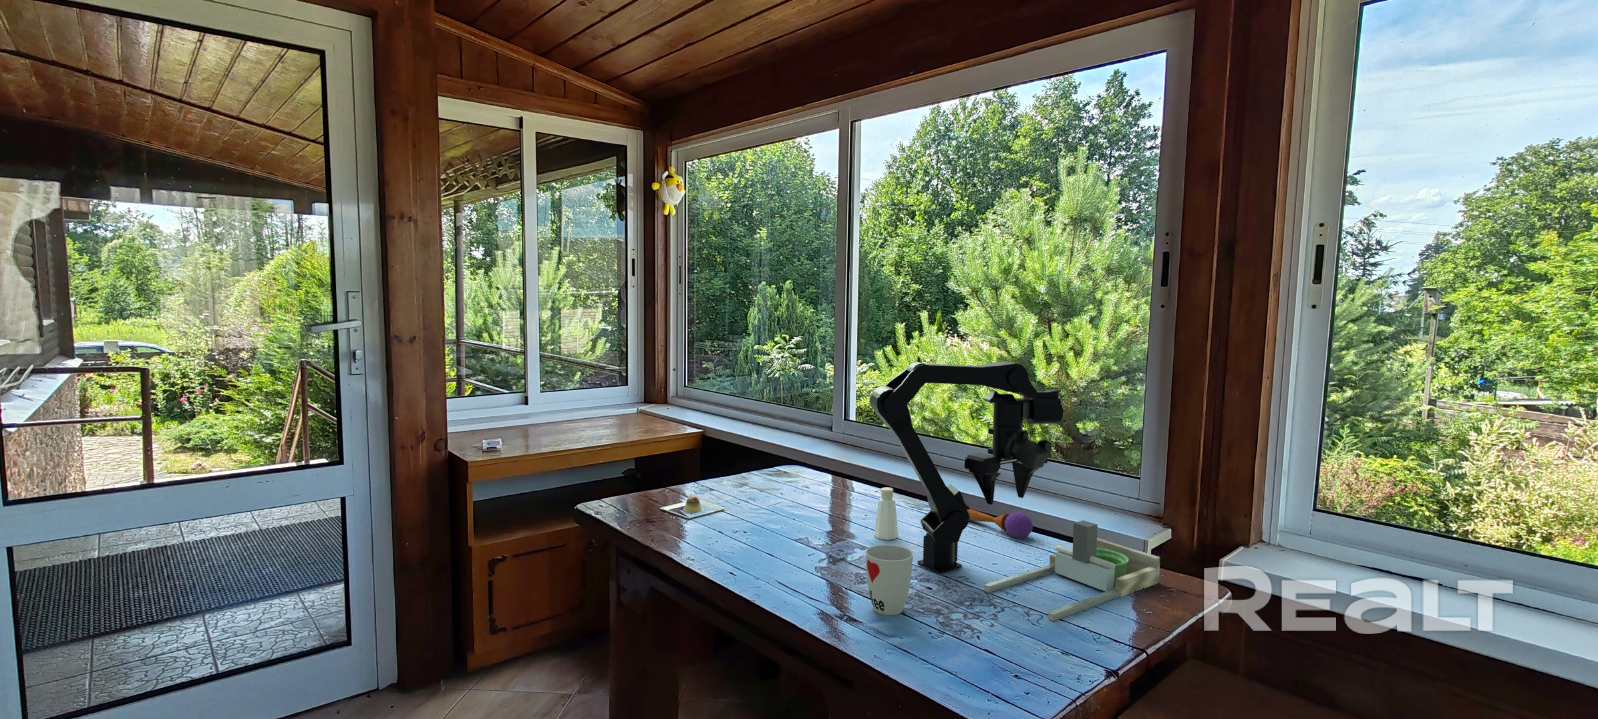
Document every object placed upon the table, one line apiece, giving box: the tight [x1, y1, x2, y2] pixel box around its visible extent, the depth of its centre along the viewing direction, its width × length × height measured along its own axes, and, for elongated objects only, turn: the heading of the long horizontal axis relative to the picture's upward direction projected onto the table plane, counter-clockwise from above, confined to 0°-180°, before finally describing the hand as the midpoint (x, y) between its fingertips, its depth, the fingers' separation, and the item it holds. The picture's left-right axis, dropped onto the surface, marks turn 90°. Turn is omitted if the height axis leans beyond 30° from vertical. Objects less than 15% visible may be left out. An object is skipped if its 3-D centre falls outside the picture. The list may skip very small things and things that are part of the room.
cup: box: [865, 544, 914, 616], centre depth 123 cm, size 8×8×10 cm
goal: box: [983, 537, 1161, 622], centre depth 133 cm, size 31×15×5 cm, turn 123°
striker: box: [1054, 519, 1115, 592], centre depth 135 cm, size 3×12×11 cm, turn 33°
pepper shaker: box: [874, 486, 899, 541], centre depth 161 cm, size 5×5×11 cm
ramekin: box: [1096, 548, 1129, 586], centre depth 138 cm, size 9×9×4 cm
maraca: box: [967, 508, 1034, 540], centre depth 167 cm, size 6×6×20 cm
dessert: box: [659, 492, 727, 520], centre depth 181 cm, size 12×12×5 cm
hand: (1005, 500), depth 144 cm, fingers open, 9 cm apart
